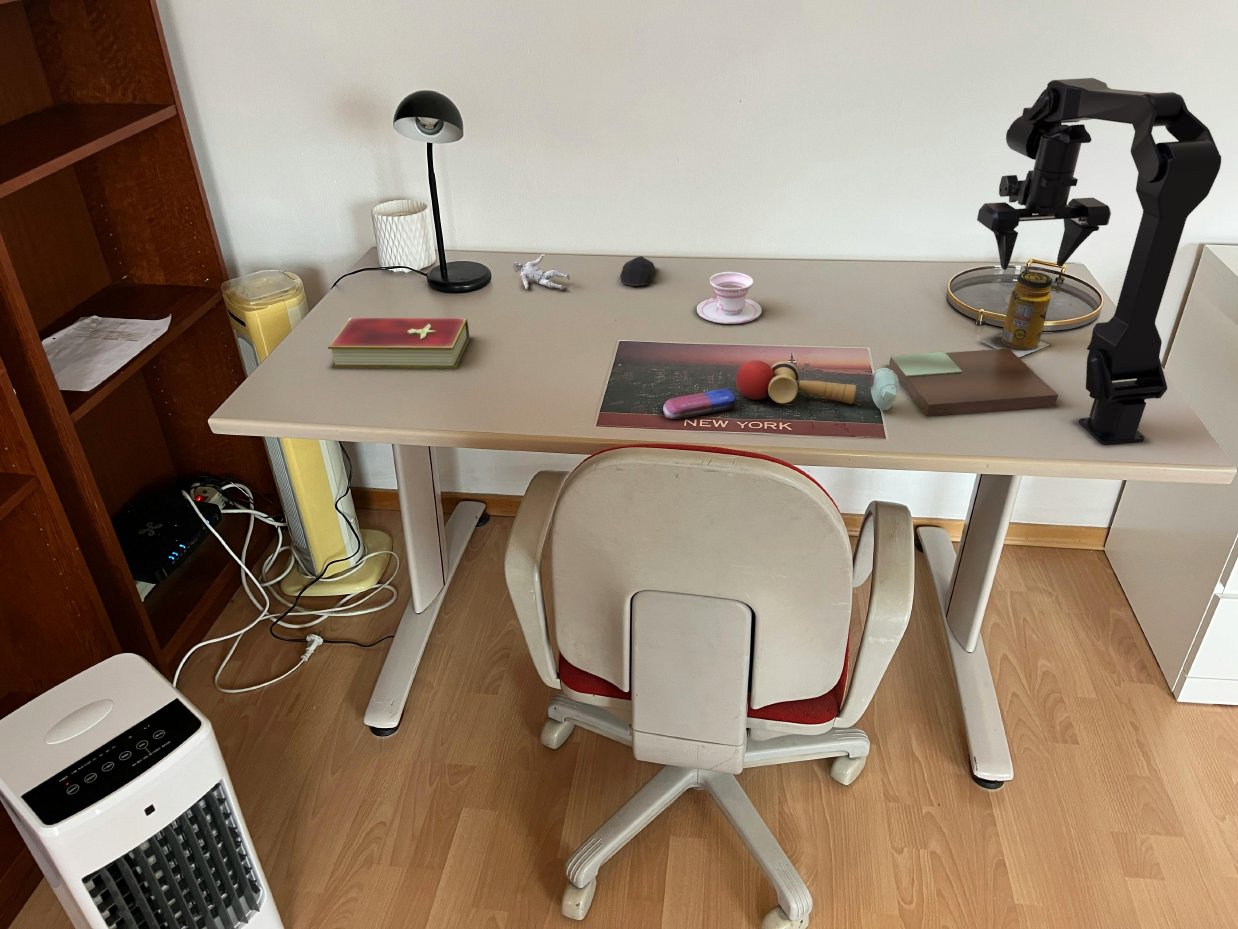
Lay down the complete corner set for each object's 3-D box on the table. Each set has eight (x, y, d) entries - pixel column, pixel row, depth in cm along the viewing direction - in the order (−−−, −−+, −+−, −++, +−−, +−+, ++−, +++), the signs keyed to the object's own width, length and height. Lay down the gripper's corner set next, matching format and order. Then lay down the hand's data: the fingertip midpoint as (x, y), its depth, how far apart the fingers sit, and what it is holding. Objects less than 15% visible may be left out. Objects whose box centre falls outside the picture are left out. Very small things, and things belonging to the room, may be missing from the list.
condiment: (1049, 345, 154) (1067, 278, 148) (1017, 358, 150) (1034, 290, 144) (1012, 330, 159) (1028, 265, 153) (981, 343, 155) (995, 276, 149)
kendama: (847, 395, 144) (735, 375, 145) (858, 364, 139) (742, 343, 140) (848, 427, 138) (730, 406, 139) (859, 396, 134) (738, 374, 135)
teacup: (773, 318, 166) (776, 286, 162) (714, 329, 162) (715, 297, 159) (742, 294, 175) (744, 264, 172) (685, 305, 172) (686, 274, 168)
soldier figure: (554, 301, 177) (501, 275, 179) (558, 308, 182) (506, 283, 184) (572, 266, 178) (519, 241, 180) (576, 275, 183) (524, 250, 184)
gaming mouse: (660, 262, 191) (660, 243, 188) (649, 289, 179) (649, 270, 176) (630, 260, 192) (630, 242, 190) (617, 287, 180) (617, 268, 177)
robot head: (896, 423, 134) (903, 383, 130) (868, 421, 134) (873, 381, 131) (892, 397, 140) (899, 358, 137) (865, 395, 141) (871, 356, 137)
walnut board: (1055, 406, 137) (1058, 393, 136) (926, 416, 135) (929, 403, 134) (1006, 359, 150) (1009, 347, 149) (888, 367, 149) (890, 355, 147)
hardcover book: (354, 337, 163) (349, 315, 161) (469, 337, 162) (467, 316, 160) (332, 368, 153) (327, 345, 151) (455, 368, 152) (452, 346, 150)
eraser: (668, 422, 136) (668, 412, 135) (660, 409, 139) (659, 398, 138) (739, 409, 138) (739, 398, 137) (729, 396, 141) (729, 386, 140)
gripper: (1085, 151, 144) (1062, 247, 153) (971, 157, 143) (954, 253, 152) (1125, 170, 135) (1097, 270, 144) (1003, 176, 134) (983, 277, 142)
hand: (1031, 267), depth 145 cm, fingers open, 9 cm apart
